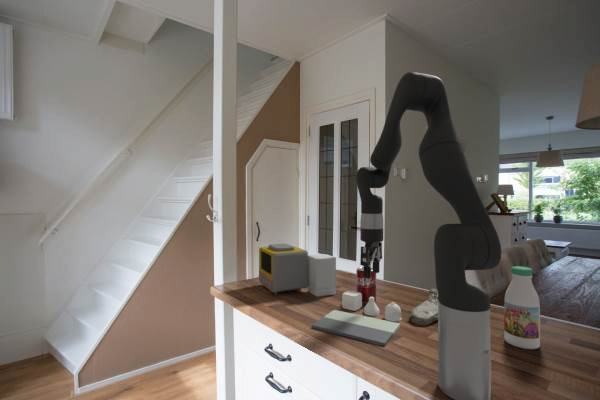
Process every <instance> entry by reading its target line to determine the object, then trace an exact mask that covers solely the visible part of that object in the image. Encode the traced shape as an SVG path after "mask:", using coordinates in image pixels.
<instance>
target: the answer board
mask: <svg viewBox="0 0 600 400" xmlns="http://www.w3.org/2000/svg"><path fill="white" fill-rule="evenodd" d="M400 328H401V323H399V322H394V321H388V320H386V319H379V318H375V317H371V316H367V315H366V316H365V315H361V314H355V313H351V312H345V311H341V310H337V309H333V310H332V311H330V312H328V313H327V314H326V315H324V316H323V317H321V318H319V320H317V321H315V322H314V323H312V324H311V329H315V330H318V331H319V330H320V331H324V332H327V333H332V334H335V335H339V336H342V337H347V338H351V339H354V340H358V341H363V342H366V343H370V344H375V345H379V346H382V347H386V345H387V344H388V343H389V341H390V340H391V339H392V338H393V337H394V335H395V334H396V333H397V332H398V330H399V329H400Z"/></svg>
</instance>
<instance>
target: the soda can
mask: <svg viewBox="0 0 600 400" xmlns="http://www.w3.org/2000/svg"><path fill="white" fill-rule="evenodd" d="M356 292H359V293H361V294H362V304H366V305H367V303H368V302H369V297H374V302H375V303H376V301H377V273H374V272H373V267H371V278H369V279H368V278H364V266H360V267H358V268H357V269H356Z"/></svg>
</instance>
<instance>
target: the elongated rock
mask: <svg viewBox="0 0 600 400" xmlns="http://www.w3.org/2000/svg"><path fill="white" fill-rule="evenodd" d="M408 319H410V321H411V323H413V324H415V325H417V326H423V327H424V326H425V327H426V326H429V325H431V324H432V323H434V322H436V321H438V291H437V289H435V288H430V289H429V291H428V296H427V297H426V299H425V301H422V302H421V303H419V305H416V306H415V307H414V308H412V309H411V310H410V313H409V315H408Z"/></svg>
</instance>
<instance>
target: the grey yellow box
mask: <svg viewBox="0 0 600 400" xmlns="http://www.w3.org/2000/svg"><path fill="white" fill-rule="evenodd" d="M308 255H309V253H308V250H307V249H306V250H305V249H303V248H301V247H298V246H294V245H291V244H288V243H273V244H272V243H271V244H268V246H260V247H259V248H258V282H259V283H260V284H261V285H263V286H264V288H266V289H268V290H269V291H270V292H271V293H274V295H276V296H277V295H278V293H279V292H280V293H281V292H286V291H287V292H288V291H294V290H297V291H298V292H302V290H303V289H308Z"/></svg>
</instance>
